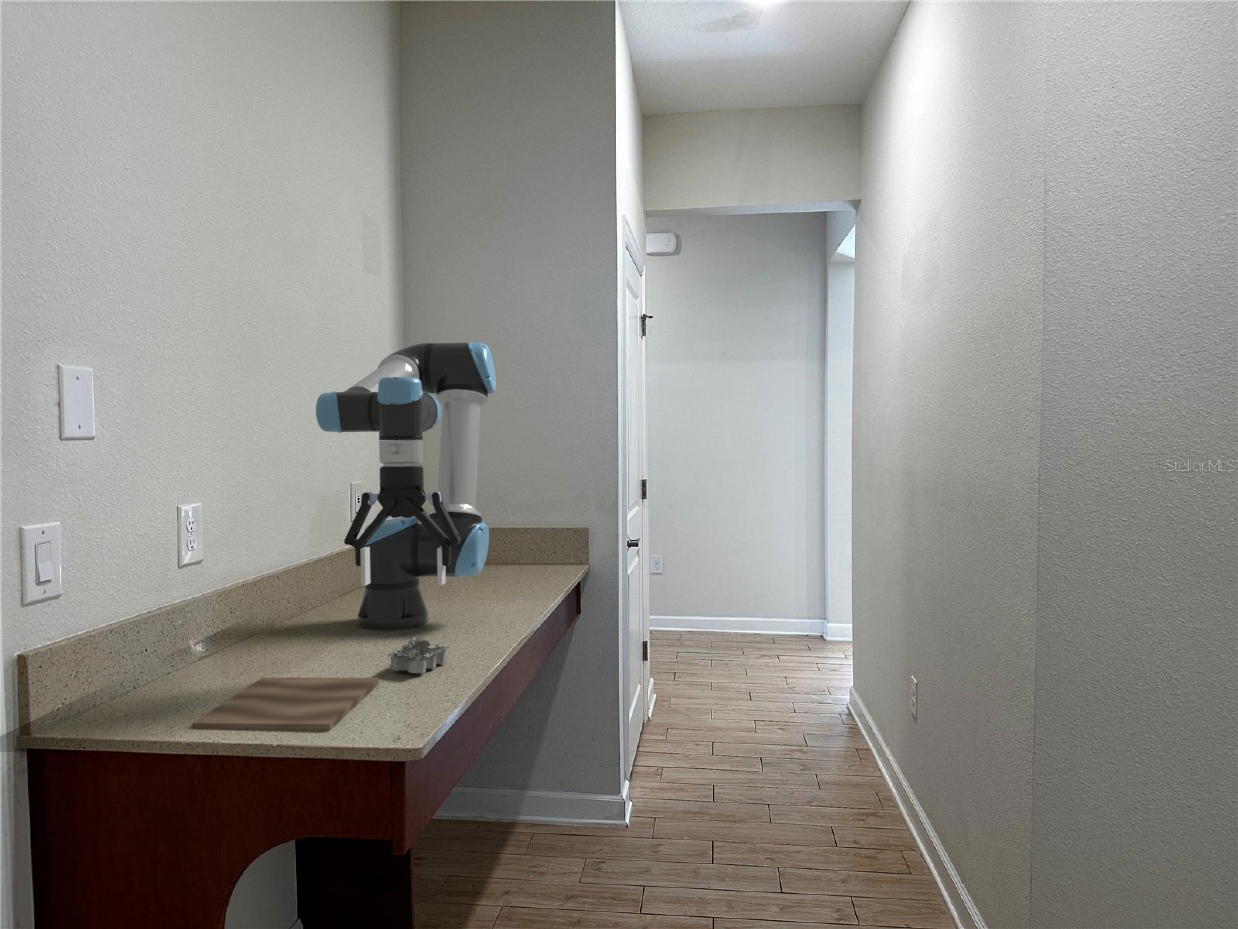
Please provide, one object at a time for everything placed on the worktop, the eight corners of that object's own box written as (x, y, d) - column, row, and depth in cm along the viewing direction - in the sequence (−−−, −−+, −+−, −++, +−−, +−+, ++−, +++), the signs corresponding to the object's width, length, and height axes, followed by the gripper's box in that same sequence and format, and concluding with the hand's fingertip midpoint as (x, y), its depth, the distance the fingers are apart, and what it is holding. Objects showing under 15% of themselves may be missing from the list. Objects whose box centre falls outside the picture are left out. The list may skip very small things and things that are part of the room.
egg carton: (418, 655, 159) (419, 634, 159) (452, 662, 156) (454, 640, 156) (382, 668, 149) (383, 645, 149) (418, 676, 146) (419, 652, 146)
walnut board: (262, 684, 144) (261, 677, 144) (378, 684, 143) (378, 677, 143) (192, 731, 122) (192, 723, 122) (329, 732, 121) (329, 723, 121)
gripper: (323, 466, 147) (326, 588, 148) (467, 465, 146) (468, 587, 147) (339, 464, 155) (342, 580, 155) (475, 463, 154) (477, 580, 154)
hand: (403, 584), depth 151 cm, fingers open, 13 cm apart
